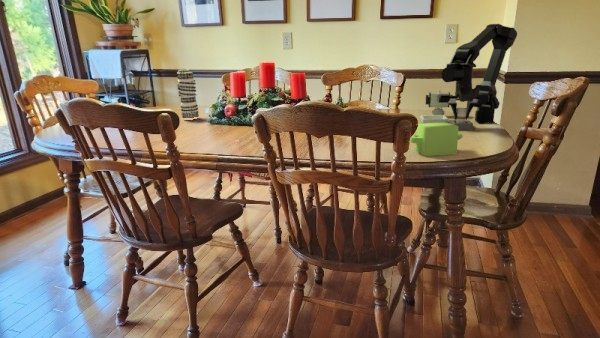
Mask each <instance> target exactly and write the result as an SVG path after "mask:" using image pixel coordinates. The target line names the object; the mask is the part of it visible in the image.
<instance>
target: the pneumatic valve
mask: <svg viewBox="0 0 600 338" xmlns="http://www.w3.org/2000/svg"><path fill="white" fill-rule="evenodd" d="M438 94H448V95H450V96H454V94H451V93H450V92H449V91H442V90H441V89H440V90H438V91H436V92H435V91H434V92H433V91H429V92H428V94H426V95H425V100H424V101H425V105H427V106H428V108H433V110H432V111H431V115H445V110H444V109H443V108H450V105H449V104H448V103H439V102H438V101H437V95H438Z"/></svg>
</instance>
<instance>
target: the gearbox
mask: <svg viewBox="0 0 600 338" xmlns="http://www.w3.org/2000/svg"><path fill="white" fill-rule="evenodd" d="M417 124H418V128H417V130H415V134H413V136H412V137H411V139H410V141H409V142H410V143H412V144H415V148H414V149H415V150H414V151H416V152H418V153H419V154H421V155H423V156H429V157H431V156H447V155H456V154H458V153H457V152H458V144H459V143H458V141H459V140H462V139H463V134H462V133H461V132H459V130H458V128H459V127H458V126H457V125H454V124H449V122H448V123H425V124H421V123H417Z"/></svg>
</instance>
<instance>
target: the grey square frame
mask: <svg viewBox="0 0 600 338" xmlns="http://www.w3.org/2000/svg"><path fill="white" fill-rule="evenodd" d="M448 123H449V124H454V125H457V126H458V127H459V128H458V131H473V130H474V123H473V122H472V121H471V120H470V119H467V120H466V123H456V120H455V119H448Z"/></svg>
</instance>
